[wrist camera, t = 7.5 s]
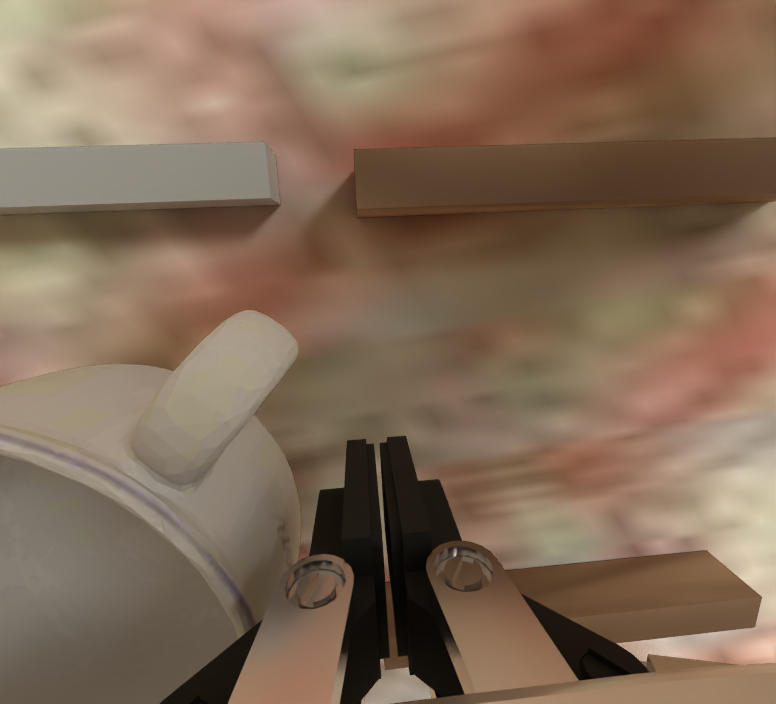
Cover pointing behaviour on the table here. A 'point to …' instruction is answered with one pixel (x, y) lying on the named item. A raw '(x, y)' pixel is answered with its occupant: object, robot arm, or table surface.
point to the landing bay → (137, 177)
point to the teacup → (141, 518)
